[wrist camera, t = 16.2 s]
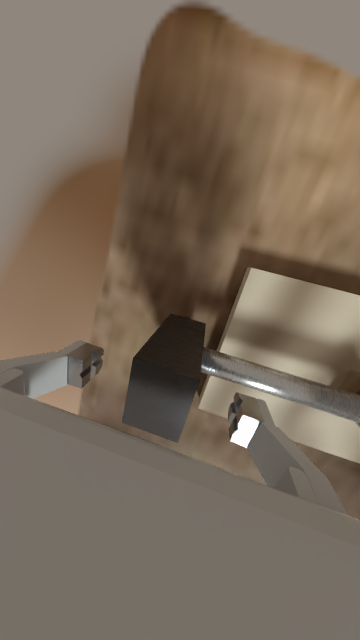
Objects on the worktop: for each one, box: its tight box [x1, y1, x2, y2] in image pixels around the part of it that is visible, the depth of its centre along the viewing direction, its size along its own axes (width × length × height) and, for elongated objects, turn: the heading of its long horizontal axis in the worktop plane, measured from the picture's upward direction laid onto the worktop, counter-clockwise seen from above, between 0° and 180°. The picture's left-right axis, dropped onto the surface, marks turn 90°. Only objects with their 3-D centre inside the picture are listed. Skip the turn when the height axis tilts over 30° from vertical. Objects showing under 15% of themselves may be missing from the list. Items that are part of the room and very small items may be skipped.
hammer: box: [122, 314, 360, 443], centre depth 11 cm, size 17×4×7 cm, turn 76°
